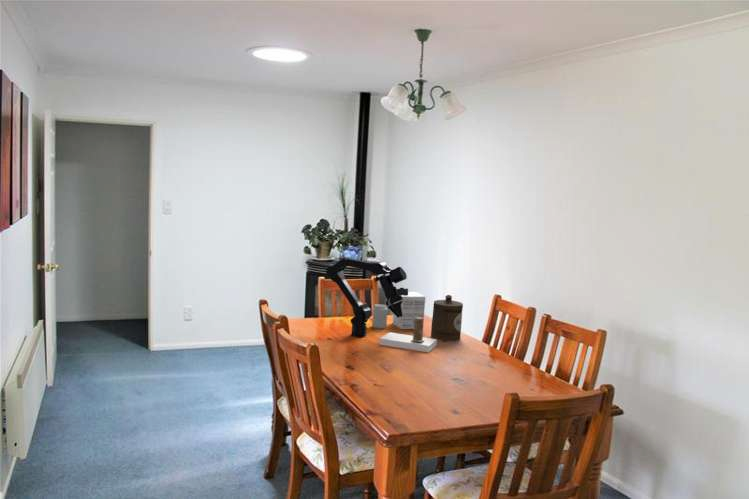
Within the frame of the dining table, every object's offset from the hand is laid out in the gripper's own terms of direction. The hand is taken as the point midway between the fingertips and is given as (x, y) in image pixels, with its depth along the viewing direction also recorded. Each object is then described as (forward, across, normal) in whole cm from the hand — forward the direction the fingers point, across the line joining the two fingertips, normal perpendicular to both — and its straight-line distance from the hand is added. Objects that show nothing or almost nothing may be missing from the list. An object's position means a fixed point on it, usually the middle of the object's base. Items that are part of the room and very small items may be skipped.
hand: (400, 317), depth 309 cm
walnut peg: (+16, -5, -1) cm, 17 cm away
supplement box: (+7, +37, -7) cm, 38 cm away
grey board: (+14, -2, +2) cm, 14 cm away
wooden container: (+19, +15, -19) cm, 31 cm away
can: (+2, +31, +8) cm, 32 cm away
